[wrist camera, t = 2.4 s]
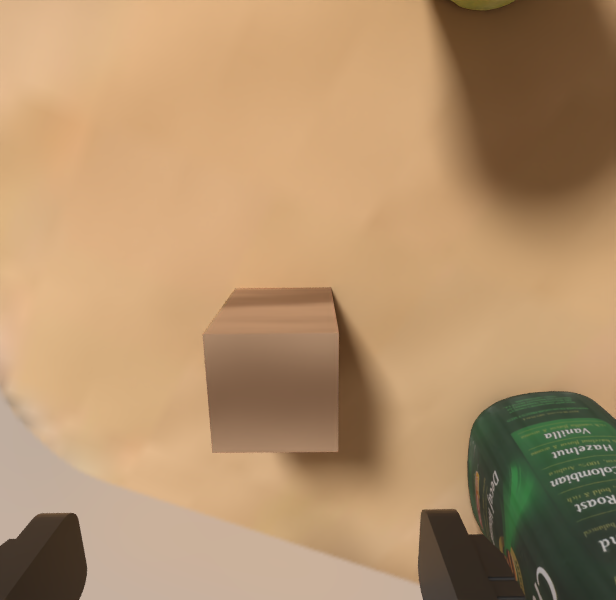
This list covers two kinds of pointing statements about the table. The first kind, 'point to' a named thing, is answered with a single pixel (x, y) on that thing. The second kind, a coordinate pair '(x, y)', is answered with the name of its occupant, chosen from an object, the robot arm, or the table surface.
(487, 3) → the plant pot
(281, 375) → the walnut block
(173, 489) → the table surface
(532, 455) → the coffee jar
